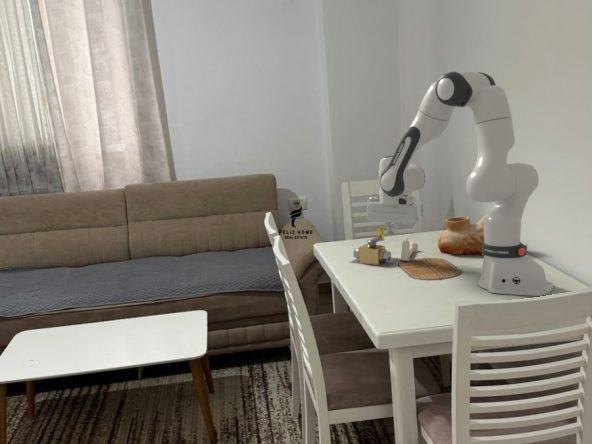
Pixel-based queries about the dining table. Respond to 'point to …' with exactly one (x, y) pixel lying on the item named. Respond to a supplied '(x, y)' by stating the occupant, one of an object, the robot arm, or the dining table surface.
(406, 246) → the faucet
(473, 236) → the ceramic vessel
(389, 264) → the valve base plate
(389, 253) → the valve body
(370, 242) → the valve lever
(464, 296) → the dining table surface
